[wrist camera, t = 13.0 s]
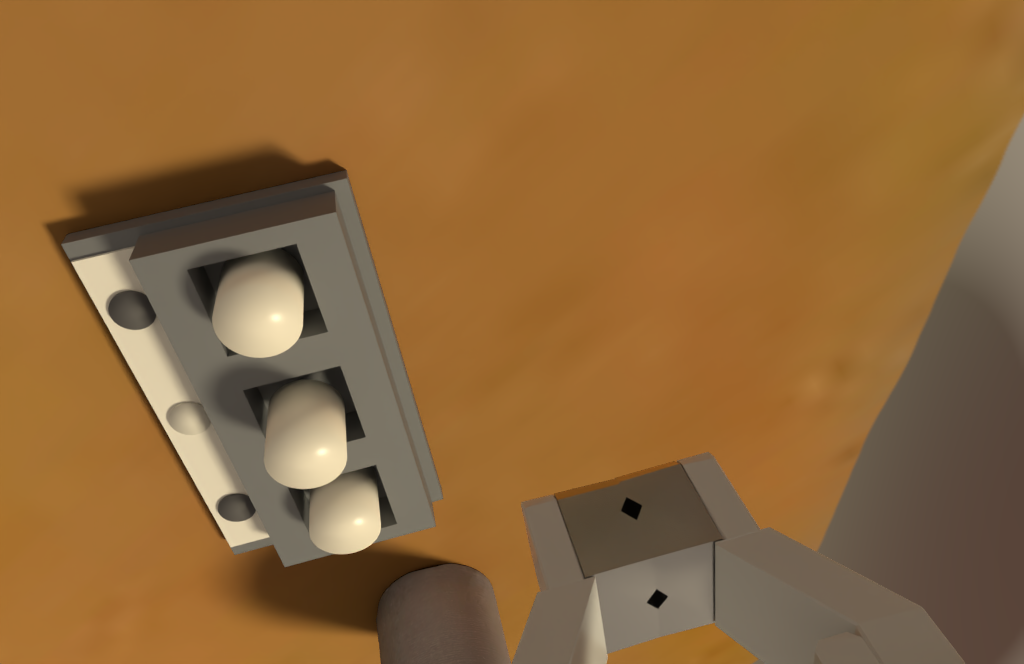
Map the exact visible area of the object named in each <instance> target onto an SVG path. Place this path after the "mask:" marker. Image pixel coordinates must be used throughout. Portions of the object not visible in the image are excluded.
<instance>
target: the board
mask: <svg viewBox="0 0 1024 664" xmlns="http://www.w3.org/2000/svg"><path fill="white" fill-rule="evenodd" d="M61 245H62V247H63V249H64V251H65V252H66V254H67V256H68V258H69V260H70V261H71V263H72V265H73V267H74V268H75V270H76V272H77V274H78V276H79V277H80V279H81V281H82V283H83V285H84V286H85V288H86V290H87V292H88V293H89V295H90V297H91V299H92V301H93V302H94V304H95V306H96V308H97V310H98V311H99V313H100V315H101V317H102V318H103V320H104V322H105V324H106V326H107V327H108V329H109V331H110V333H111V335H112V336H113V338H114V340H115V342H116V343H117V345H118V347H119V349H120V351H121V352H122V354H123V356H124V358H125V360H126V361H127V363H128V365H129V367H130V368H131V370H132V372H133V374H134V376H135V377H136V379H137V381H138V383H139V385H140V386H141V388H142V390H143V392H144V393H145V395H146V397H147V399H148V401H149V402H150V404H151V406H152V408H153V410H154V411H155V413H156V415H157V417H158V419H159V420H160V422H161V424H162V426H163V427H164V429H165V431H166V433H167V435H168V436H169V438H170V440H171V442H172V444H173V445H174V447H175V449H176V451H177V452H178V454H179V456H180V458H181V460H182V461H183V463H184V465H185V467H186V469H187V470H188V472H189V474H190V476H191V477H192V479H193V481H194V483H195V485H196V486H197V488H198V490H199V492H200V494H201V495H202V497H203V499H204V501H205V502H206V504H207V506H208V508H209V510H210V511H211V513H212V515H213V517H214V519H215V520H216V522H217V524H218V526H219V527H220V529H221V531H222V533H223V535H224V536H225V538H226V540H227V542H228V544H229V545H230V547H231V549H232V551H233V552H234V554H235V555H236V554H240V553H244V552H247V551H251V550H255V549H258V548H262V547H266V546H270V545H274V547H275V549H276V551H277V553H278V555H279V557H280V559H281V561H282V563H283V564H284V566H285V567H288V566H291V565H295V564H299V563H302V562H306V561H310V560H314V559H317V558H321V557H325V556H328V555H332V554H333V553H329V552H326V551H323V550H321V549H320V548H318V547H317V546H316V545H315V544H314V543H313V542H312V540H311V538H310V534H309V508H310V489H296V488H291V487H287V486H285V485H282V484H280V483H278V482H277V481H275V480H274V479H273V478H272V477H271V476H270V475H269V474H268V472H267V470H266V468H265V464H264V453H265V440H266V428H267V416H268V406H269V402H270V399H271V397H272V396H273V394H274V393H275V392H276V391H277V390H278V389H279V388H281V387H282V386H284V385H286V384H288V383H290V382H293V381H297V380H305V379H308V380H317V381H321V382H324V383H327V384H329V385H330V386H332V387H334V388H335V389H336V390H337V391H338V392H339V393H340V395H341V396H342V398H343V401H344V405H345V422H346V443H347V462H346V466H345V468H344V470H343V471H342V473H341V474H343V473H347V472H351V471H355V470H359V469H362V468H366V467H370V466H372V467H373V468H374V470H375V472H376V476H377V487H378V498H379V509H380V520H381V531H380V534H379V536H378V538H377V539H376V540H375V541H374V542H373V543H376V542H380V541H384V540H387V539H391V538H395V537H398V536H402V535H406V534H409V533H413V532H417V531H421V530H424V529H428V528H432V527H435V526H436V524H435V518H434V512H433V507H432V502H434V501H437V500H441V499H443V495H442V489H441V485H440V482H439V478H438V475H437V472H436V468H435V465H434V462H433V458H432V455H431V452H430V448H429V445H428V442H427V438H426V435H425V432H424V428H423V425H422V422H421V418H420V415H419V412H418V408H417V405H416V402H415V398H414V395H413V392H412V388H411V385H410V381H409V378H408V375H407V371H406V368H405V365H404V361H403V358H402V355H401V351H400V348H399V345H398V341H397V338H396V335H395V331H394V328H393V325H392V321H391V318H390V315H389V311H388V308H387V305H386V301H385V298H384V294H383V291H382V288H381V284H380V281H379V278H378V274H377V271H376V268H375V264H374V261H373V258H372V254H371V251H370V248H369V244H368V241H367V238H366V234H365V231H364V228H363V224H362V221H361V218H360V214H359V211H358V208H357V204H356V201H355V197H354V194H353V191H352V187H351V184H350V181H349V177H348V174H347V171H346V170H344V171H340V172H335V173H331V174H327V175H322V176H318V177H314V178H309V179H305V180H301V181H296V182H292V183H288V184H283V185H279V186H275V187H270V188H266V189H262V190H257V191H253V192H249V193H244V194H240V195H235V196H231V197H227V198H222V199H218V200H214V201H209V202H205V203H201V204H196V205H192V206H188V207H183V208H179V209H175V210H170V211H166V212H162V213H157V214H153V215H149V216H144V217H140V218H135V219H131V220H127V221H122V222H118V223H114V224H109V225H105V226H101V227H96V228H92V229H88V230H83V231H79V232H75V233H70V234H67V235H66V237H65V239H64V240H63V242H62V244H61ZM277 248H280V249H282V250H284V251H286V252H288V253H289V254H290V255H292V256H293V257H294V258H295V259H296V261H297V262H298V263H299V265H300V266H301V269H302V271H303V275H304V307H303V328H302V332H301V335H300V337H299V339H298V340H297V341H296V343H295V344H294V345H293V346H292V347H290V348H289V349H288V350H286V351H285V352H283V353H280V354H278V355H275V356H271V357H265V358H254V357H248V356H244V355H241V354H238V353H236V352H234V351H232V350H230V349H229V348H228V347H226V346H225V345H224V344H223V343H222V342H221V341H220V340H219V338H218V337H217V335H216V333H215V331H214V328H213V324H212V316H213V310H214V306H215V301H216V296H217V291H218V286H219V282H220V277H221V272H222V269H223V266H224V264H225V262H226V261H227V260H230V259H234V258H239V257H243V256H247V255H251V254H255V253H260V252H264V251H268V250H272V249H277ZM373 543H372V544H373Z"/></svg>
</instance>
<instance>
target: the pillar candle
mask: <svg viewBox="0 0 1024 664" xmlns="http://www.w3.org/2000/svg"><path fill="white" fill-rule="evenodd" d="M376 623H377V631H378V641H379V648H380V658H381V664H511V662H510V658H509V654H508V650H507V646H506V641H505V637H504V633H503V628H502V624H501V620H500V616H499V612H498V607H497V603H496V599H495V595H494V591H493V588H492V585H491V583H490V581H489V580H488V579H487V578H486V577H485V576H484V575H483V574H482V573H480V572H479V571H477V570H475V569H473V568H471V567H468V566H462V565H459V564H444V565H440V566H436V567H431V568H427V569H423V570H419V571H415V572H411V573H408V574H406V575H404V576H402V577H401V578H399V579H398V580H396V581H395V582H394V583H393V584H392V585H391V586H390V587H389V588H388V589H387V590H386V591H385V592H384V594H383V595H382V597H381V599H380V602H379V605H378V614H377V618H376Z"/></svg>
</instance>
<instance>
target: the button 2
mask: <svg viewBox="0 0 1024 664" xmlns="http://www.w3.org/2000/svg"><path fill="white" fill-rule="evenodd" d="M346 462H347V443H346V422H345V405H344V401H343V398H342V396H341V395H340V393H339V392H338V391H337V390H336V389H335V388H334V387H332V386H330V385H329V384H327V383H324V382H321V381H317V380H308V379H305V380H297V381H293V382H290V383H288V384H286V385H284V386H282V387H281V388H279V389H278V390H277V391H276V392H275V393H274V394H273V396H272V397H271V399H270V402H269V406H268V416H267V428H266V440H265V453H264V464H265V468H266V470H267V472H268V474H269V475H270V476H271V477H272V478H273V479H274V480H275V481H277V482H278V483H280V484H282V485H285V486H287V487H291V488H296V489H311V488H317V487H320V486H323V485H326V484H328V483H330V482H331V481H333V480H334V479H336V478H337V477H338V476H339V475H340V474H341V473H342V471H343V470H344V468H345V466H346Z"/></svg>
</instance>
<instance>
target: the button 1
mask: <svg viewBox="0 0 1024 664" xmlns="http://www.w3.org/2000/svg"><path fill="white" fill-rule="evenodd" d="M303 307H304V275H303V271H302V269H301V266H300V265H299V263H298V262H297V261H296V259H295V258H294V257H293V256H292V255H290V254H289V253H288V252H286V251H284V250H282V249H280V248H277V249H272V250H268V251H264V252H260V253H255V254H251V255H247V256H243V257H239V258H234V259H230V260H227V261H226V262H225V264H224V266H223V269H222V272H221V277H220V282H219V286H218V291H217V296H216V301H215V306H214V310H213V316H212V324H213V328H214V331H215V333H216V335H217V337H218V338H219V340H220V341H221V342H222V343H223V344H224V345H225V346H226V347H228V348H229V349H230V350H232V351H234V352H236V353H238V354H241V355H244V356H248V357H254V358H265V357H271V356H275V355H278V354H280V353H283V352H285V351H286V350H288V349H289V348H290V347H292V346H293V345H294V344H295V343H296V341H297V340H298V339H299V337H300V335H301V332H302V328H303Z"/></svg>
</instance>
